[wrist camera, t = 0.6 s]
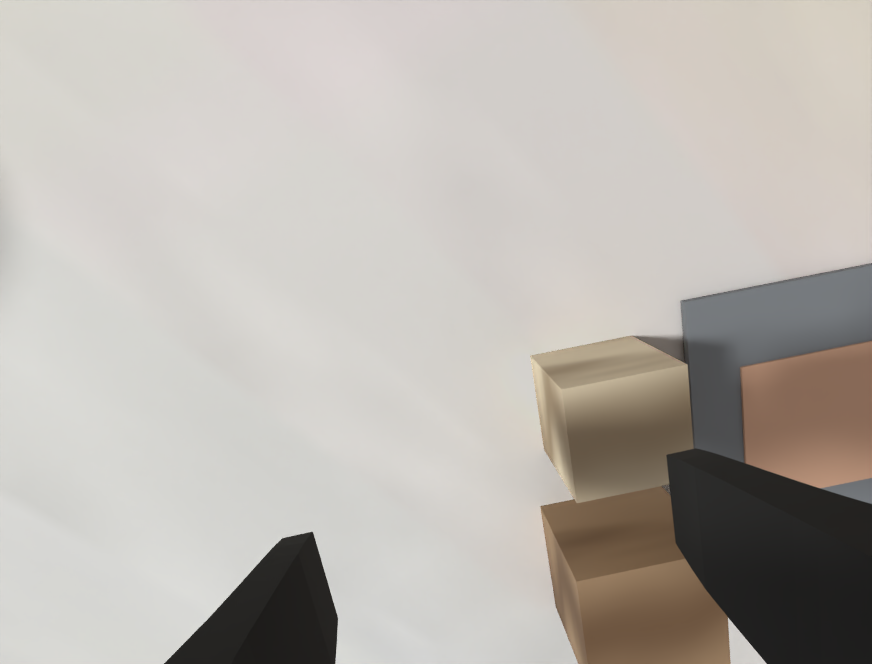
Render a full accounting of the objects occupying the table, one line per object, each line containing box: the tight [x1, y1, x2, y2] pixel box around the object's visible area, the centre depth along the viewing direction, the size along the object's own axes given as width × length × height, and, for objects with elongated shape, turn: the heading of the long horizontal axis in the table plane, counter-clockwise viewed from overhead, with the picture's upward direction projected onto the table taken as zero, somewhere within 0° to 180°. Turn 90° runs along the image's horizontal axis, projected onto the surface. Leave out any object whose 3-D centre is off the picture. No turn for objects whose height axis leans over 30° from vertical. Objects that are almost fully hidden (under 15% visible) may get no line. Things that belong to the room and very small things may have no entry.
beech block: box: [530, 336, 694, 503], centre depth 18 cm, size 4×4×4 cm
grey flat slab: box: [681, 263, 872, 504], centre depth 20 cm, size 12×10×1 cm
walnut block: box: [540, 486, 730, 664], centre depth 19 cm, size 5×5×4 cm
